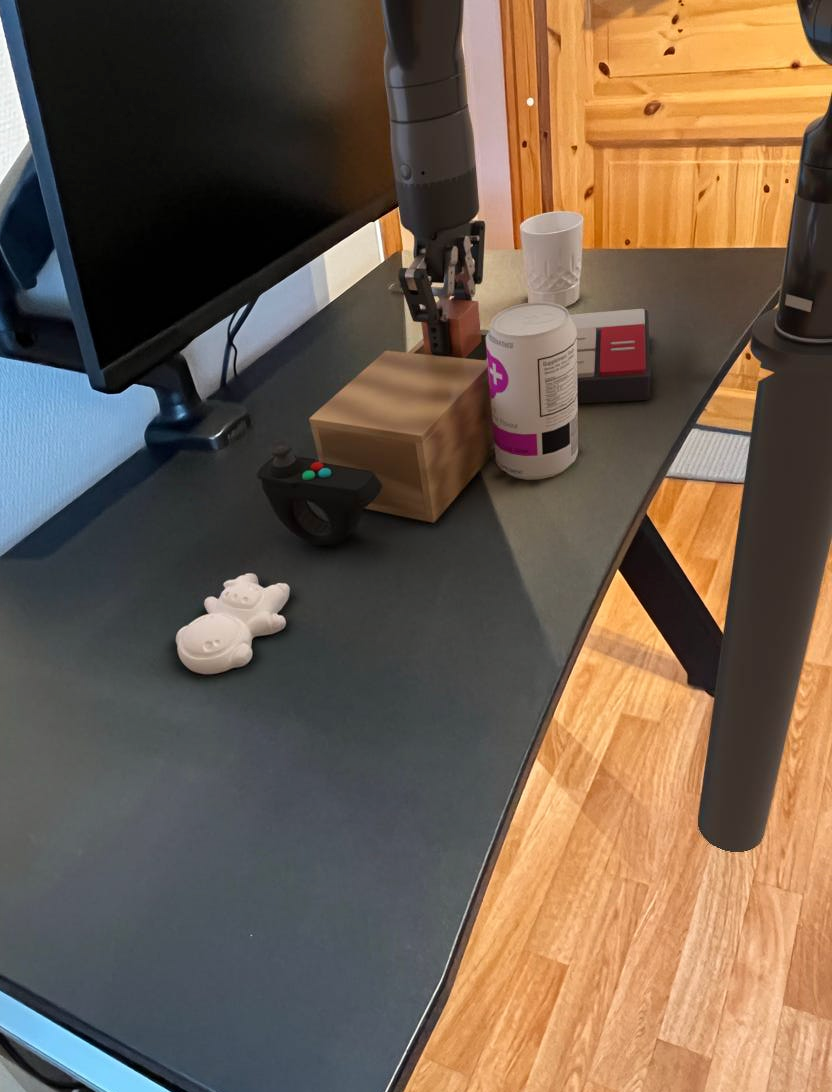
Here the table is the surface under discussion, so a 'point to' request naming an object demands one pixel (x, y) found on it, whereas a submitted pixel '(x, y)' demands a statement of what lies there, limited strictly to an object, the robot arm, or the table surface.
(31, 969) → the table surface
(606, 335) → the calculator
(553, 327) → the supplement can
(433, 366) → the cabinet
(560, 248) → the white cup
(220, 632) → the white animal figurine
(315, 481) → the controller
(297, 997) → the table surface
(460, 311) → the block
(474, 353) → the drawer
